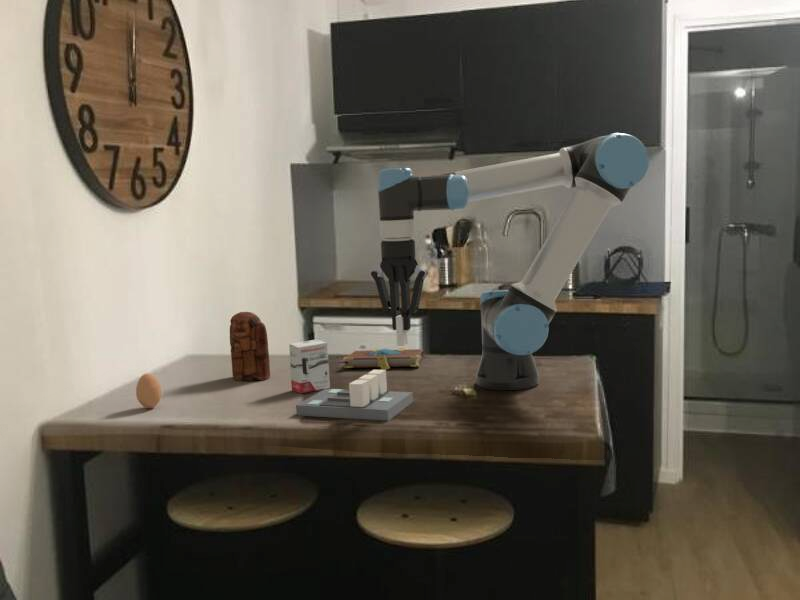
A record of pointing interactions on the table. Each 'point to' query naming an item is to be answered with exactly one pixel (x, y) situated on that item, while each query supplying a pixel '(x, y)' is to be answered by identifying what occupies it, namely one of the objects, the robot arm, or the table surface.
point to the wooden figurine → (249, 348)
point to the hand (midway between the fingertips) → (402, 344)
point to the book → (384, 358)
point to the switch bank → (339, 406)
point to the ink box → (309, 366)
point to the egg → (148, 391)
